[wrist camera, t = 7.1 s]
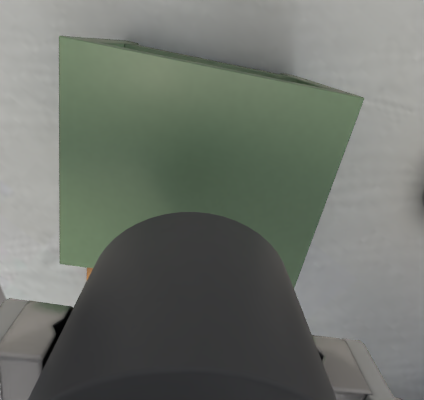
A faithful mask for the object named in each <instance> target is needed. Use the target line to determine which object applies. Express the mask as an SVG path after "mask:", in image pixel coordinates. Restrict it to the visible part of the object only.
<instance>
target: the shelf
mask: <svg viewBox="0 0 424 400" xmlns="http://www.w3.org/2000/svg"><path fill="white" fill-rule="evenodd" d="M363 100H364V98H363V97H360V96H357V95H354V94H350V93H347V92H344V91H341V90H338V89H335V88H331V87H328V86H325V85H322V84H319V83H316V82H313V81H309V80H306V79H303V78H300V77H297V76H294V75H289V74H284V73H281V74H275V73H270V72H265V71H261V70H256V69H251V68H246V67H241V66H236V65H231V64H227V63H222V62H217V61H212V60H207V59H202V58H197V57H193V56H188V55H183V54H178V53H173V52H168V51H163V50H159V49H154V48H149V47H144V46H139V44H138V43H134V42H129V41H123V40H110V39H96V38H82V37H70V36H59V199H60V264H65V265H72V266H80V267H87V268H94V266H95V264H96V262H97V260H98V258H99V256H100V255H101V253H102V252H103V251H104V249H105V248H106V247H107V246H108V245H109V244H110V243H111V242H112V240H113V239H114V238H116V237H117V236H118V235H120V234H121V233H122V232H124V231H125V230H126V229H128V228H130V227H132V226H134V225H135V224H137V223H140V222H142V221H144V220H147V219H149V218H152V217H156V216H160V215H164V214H170V213H177V212H202V213H210V214H215V215H219V216H224V217H226V218H229V219H232V220H235V221H237V222H239V223H241V224H243V225H246V226H248V227H249V228H251V229H252V230H254V231H255V232H257V233H258V234H260V235H261V236H262V237H263V238H264V239H266V240H267V241H268V242H269V243H270V244H271V245H272V247H273V248H274V249H275V250H276V251H277V253H278V254H279V256H280V258H281V259H282V261H283V263H284V265H285V268H286V270H287V273H288V275H289V278H290V280H291V283H292V286H293V288H294V287H295V284H296V282H297V279H298V276H299V273H300V271H301V268H302V265H303V263H304V260H305V257H306V255H307V252H308V249H309V246H310V244H311V241H312V238H313V236H314V233H315V230H316V227H317V225H318V222H319V219H320V217H321V214H322V211H323V209H324V206H325V203H326V200H327V198H328V195H329V192H330V190H331V187H332V184H333V181H334V179H335V176H336V173H337V171H338V168H339V165H340V163H341V160H342V157H343V154H344V152H345V149H346V146H347V144H348V141H349V138H350V135H351V133H352V130H353V127H354V125H355V122H356V119H357V117H358V114H359V111H360V108H361V106H362V103H363Z"/></svg>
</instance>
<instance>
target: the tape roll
mask: <svg viewBox="0 0 424 400" xmlns="http://www.w3.org/2000/svg"><path fill="white" fill-rule="evenodd" d="M28 400H337V399H336V397H335V394H334V391H333V389H332V386H331V384H330V381H329V379H328V376H327V373H326V371H325V368H324V366H323V363H322V360H321V358H320V355H319V353H318V350H317V348H316V345H315V342H314V340H313V337H312V335H311V332H310V329H309V327H308V324H307V322H306V319H305V317H304V314H303V311H302V309H301V306H300V304H299V301H298V299H297V296H296V293H295V291H294V288H293V286H292V283H291V280H290V278H289V275H288V273H287V270H286V268H285V265H284V263H283V261H282V259H281V258H280V256H279V254H278V253H277V251H276V250H275V249H274V248H273V247H272V245H271V244H270V243H269V242H268V241H267V240H266V239H264V238H263V237H262V236H261V235H260V234H258V233H257V232H255V231H254V230H252V229H251V228H249V227H248V226H246V225H243V224H241V223H239V222H237V221H235V220H232V219H229V218H226V217H224V216H219V215H215V214H210V213H202V212H177V213H170V214H164V215H160V216H156V217H152V218H149V219H147V220H144V221H142V222H140V223H137V224H135V225H134V226H132V227H130V228H128V229H126V230H125V231H124V232H122V233H121V234H120V235H118V236H117V237H116V238H114V239H113V240H112V242H111V243H110V244H109V245H108V246H107V247H106V248H105V249H104V251H103V252H102V253H101V255H100V256H99V258H98V260H97V262H96V264H95V266H94V268H93V270H92V272H91V274H90V276H89V278H88V280H87V282H86V284H85V286H84V288H83V290H82V292H81V294H80V296H79V298H78V300H77V302H76V304H75V306H74V308H73V310H72V312H71V314H70V316H69V318H68V320H67V322H66V324H65V326H64V328H63V330H62V332H61V334H60V336H59V338H58V340H57V342H56V344H55V346H54V348H53V350H52V352H51V354H50V356H49V358H48V360H47V362H46V364H45V366H44V368H43V370H42V372H41V374H40V376H39V378H38V380H37V382H36V384H35V386H34V388H33V390H32V392H31V394H30V396H29V398H28Z"/></svg>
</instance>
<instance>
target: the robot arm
mask: <svg viewBox="0 0 424 400" xmlns="http://www.w3.org/2000/svg"><path fill="white" fill-rule="evenodd" d="M72 310H73V307H70V306H63V305H57V304H50V303H43V302H36V301H26V300H19V299H12V298H9V299H7V300H6V301H4V302H3V303H2V304H1V306H0V400H28V398H29V396H30V394H31V392H32V390H33V388H34V386H35V384H36V382H37V380H38V378H39V376H40V374H41V372H42V370H43V368H44V366H45V364H46V362H47V360H48V358H49V356H50V354H51V352H52V350H53V348H54V346H55V344H56V342H57V340H58V338H59V336H60V334H61V332H62V330H63V328H64V326H65V324H66V322H67V320H68V318H69V316H70V314H71V312H72ZM312 337H313V340H314V342H315V345H316V348H317V350H318V353H319V355H320V358H321V360H322V363H323V366H324V368H325V371H326V373H327V376H328V379H329V381H330V384H331V386H332V389H333V391H334V394H335V397H336V399H337V400H401V399H400V398H394V396H393V394H392V392H391V391H390V389H389V387H388V385H387V384H386V382H385V380H384V378H383V376H382V375H381V373H380V371H379V369H378V368H377V366H376V364H375V362H374V360H373V359H372V357H371V355H370V353H369V352H368V350H367V348H366V346H365V345H364V343H362V342H361V341H360V340H352V339H340V338H333V337H324V336H315V335H312Z"/></svg>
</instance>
